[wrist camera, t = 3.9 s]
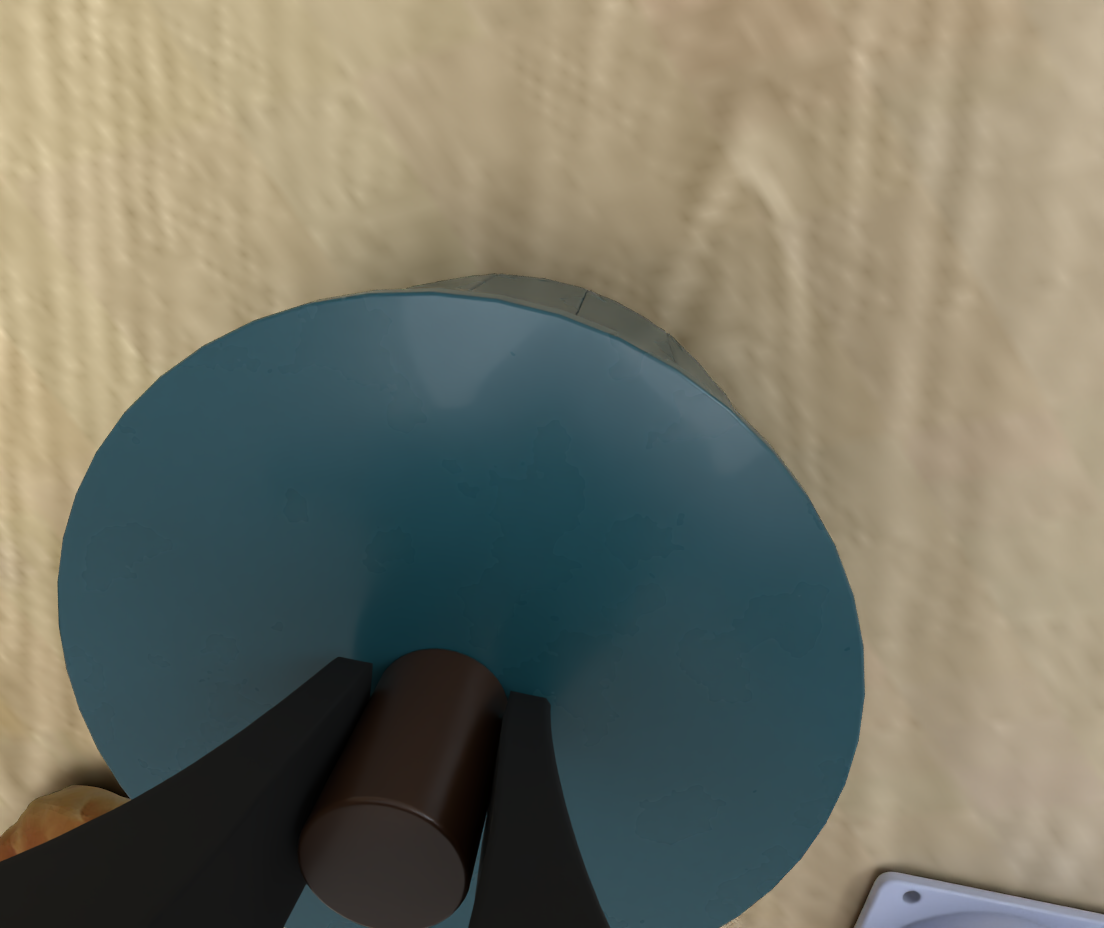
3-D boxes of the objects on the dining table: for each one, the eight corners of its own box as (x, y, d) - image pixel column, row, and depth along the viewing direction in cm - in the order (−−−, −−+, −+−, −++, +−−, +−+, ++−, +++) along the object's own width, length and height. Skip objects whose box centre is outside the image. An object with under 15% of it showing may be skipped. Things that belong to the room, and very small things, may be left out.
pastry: (24, 737, 24) (-79, 831, 21) (216, 806, 24) (146, 910, 21) (2, 916, 27) (-91, 1023, 24) (170, 974, 28) (104, 1088, 24)
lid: (970, 371, 11) (1180, 478, 7) (735, 992, 16) (772, 1271, 12) (68, 211, 12) (-253, 219, 7) (119, 860, 17) (-52, 1082, 12)
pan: (824, 327, 17) (908, 384, 12) (694, 764, 22) (714, 939, 17) (274, 230, 17) (126, 244, 12) (266, 678, 22) (157, 823, 17)
